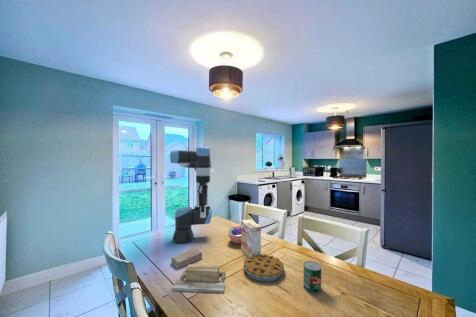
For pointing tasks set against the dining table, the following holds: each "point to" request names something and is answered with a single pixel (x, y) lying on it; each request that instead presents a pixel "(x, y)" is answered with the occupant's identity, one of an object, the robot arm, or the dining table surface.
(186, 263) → the brick
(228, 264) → the dining table surface
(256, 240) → the coffeecake box
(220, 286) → the floor panel
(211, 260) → the dining table surface
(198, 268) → the plank
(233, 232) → the cell model
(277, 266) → the pie
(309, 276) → the canned tomato
